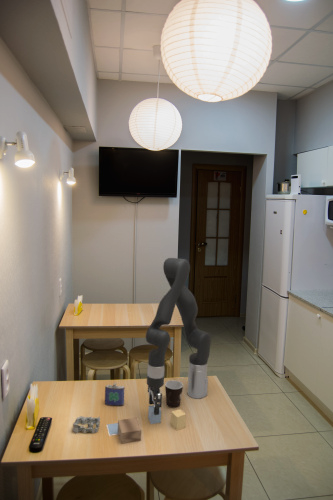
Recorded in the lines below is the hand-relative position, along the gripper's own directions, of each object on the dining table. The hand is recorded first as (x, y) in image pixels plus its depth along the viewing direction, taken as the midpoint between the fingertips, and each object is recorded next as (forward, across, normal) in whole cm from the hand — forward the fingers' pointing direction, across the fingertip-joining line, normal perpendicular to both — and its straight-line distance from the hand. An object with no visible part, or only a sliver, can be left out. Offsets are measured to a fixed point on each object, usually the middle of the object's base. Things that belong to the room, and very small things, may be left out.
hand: (153, 409), depth 157 cm
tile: (+6, -2, +16) cm, 18 cm away
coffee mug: (+5, +10, -12) cm, 16 cm away
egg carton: (+6, +1, +29) cm, 29 cm away
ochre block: (+6, -6, -10) cm, 13 cm away
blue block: (+6, 0, -1) cm, 6 cm away
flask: (+6, +17, +14) cm, 23 cm away
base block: (+6, -8, +12) cm, 16 cm away
